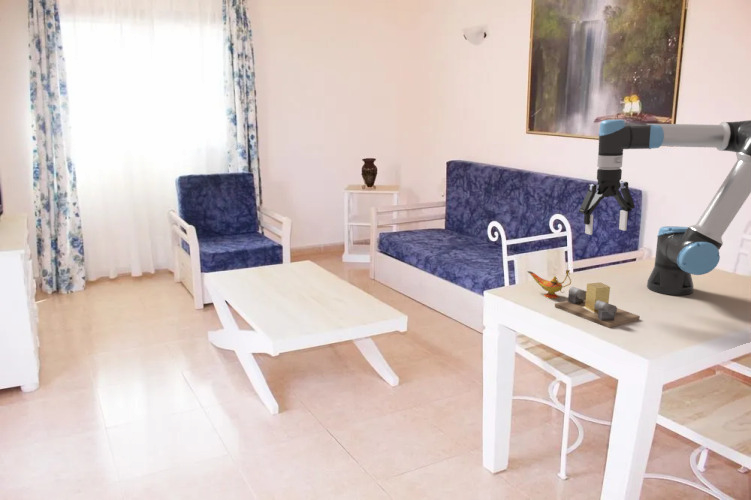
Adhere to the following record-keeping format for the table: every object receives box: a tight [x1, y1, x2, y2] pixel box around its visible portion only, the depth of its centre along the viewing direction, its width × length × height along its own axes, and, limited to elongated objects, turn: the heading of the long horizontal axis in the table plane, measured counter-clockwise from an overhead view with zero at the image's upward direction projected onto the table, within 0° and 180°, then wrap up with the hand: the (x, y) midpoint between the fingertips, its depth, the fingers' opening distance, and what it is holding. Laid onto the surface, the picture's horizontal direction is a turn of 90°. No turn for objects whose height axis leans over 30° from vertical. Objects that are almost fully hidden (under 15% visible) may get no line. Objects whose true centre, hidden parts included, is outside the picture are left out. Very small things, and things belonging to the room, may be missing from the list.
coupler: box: [585, 282, 611, 312], centre depth 198 cm, size 5×5×8 cm
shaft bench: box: [554, 286, 640, 329], centre depth 199 cm, size 22×14×6 cm, turn 30°
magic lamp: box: [527, 269, 572, 299], centre depth 216 cm, size 7×18×11 cm, turn 40°
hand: (605, 231), depth 206 cm, fingers open, 13 cm apart
